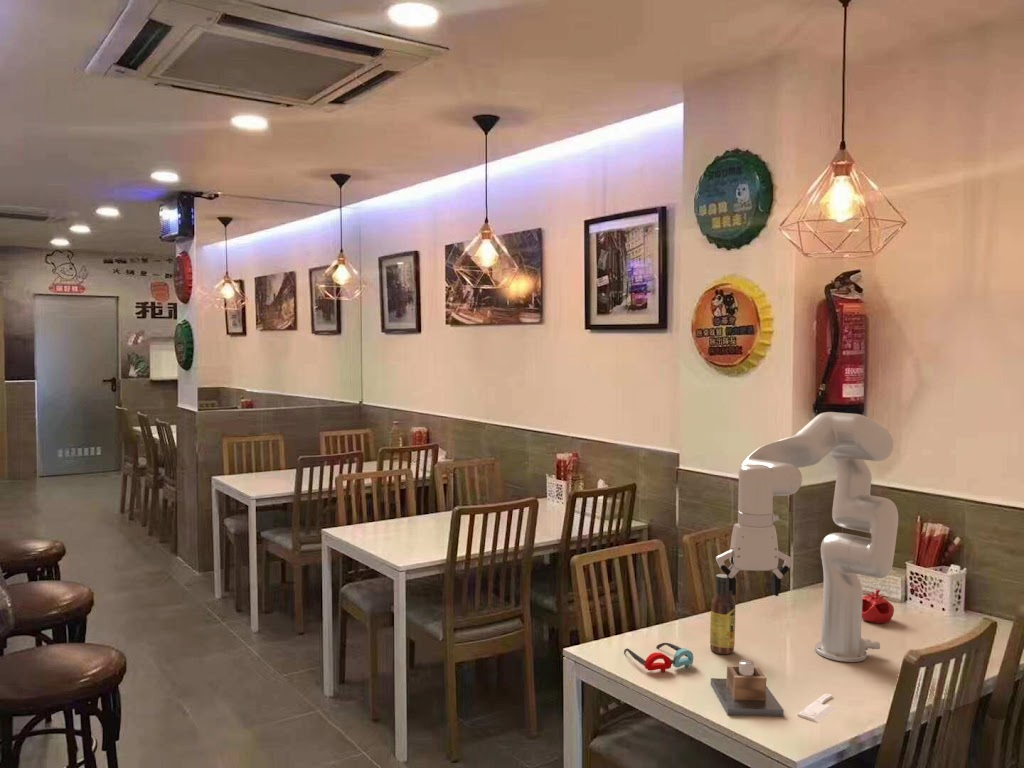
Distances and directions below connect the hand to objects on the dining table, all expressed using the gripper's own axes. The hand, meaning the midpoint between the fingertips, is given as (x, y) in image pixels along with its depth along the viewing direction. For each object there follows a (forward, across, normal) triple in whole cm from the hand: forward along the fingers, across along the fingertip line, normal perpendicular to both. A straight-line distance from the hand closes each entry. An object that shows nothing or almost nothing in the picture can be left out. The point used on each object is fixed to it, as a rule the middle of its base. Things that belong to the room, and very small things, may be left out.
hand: (753, 594), depth 184 cm
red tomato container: (+25, -52, -55) cm, 80 cm away
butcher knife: (+24, -14, +7) cm, 29 cm away
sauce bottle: (+24, 0, -27) cm, 36 cm away
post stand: (+23, +2, +3) cm, 24 cm away
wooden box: (+22, +2, +3) cm, 22 cm away
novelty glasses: (+24, +18, -19) cm, 36 cm away
